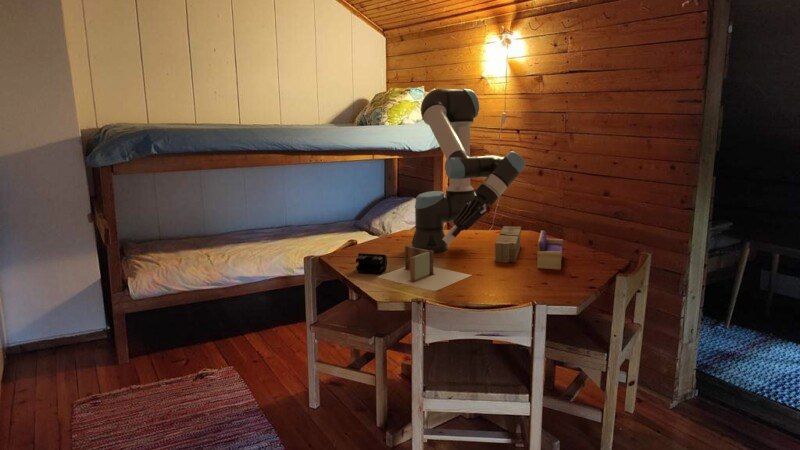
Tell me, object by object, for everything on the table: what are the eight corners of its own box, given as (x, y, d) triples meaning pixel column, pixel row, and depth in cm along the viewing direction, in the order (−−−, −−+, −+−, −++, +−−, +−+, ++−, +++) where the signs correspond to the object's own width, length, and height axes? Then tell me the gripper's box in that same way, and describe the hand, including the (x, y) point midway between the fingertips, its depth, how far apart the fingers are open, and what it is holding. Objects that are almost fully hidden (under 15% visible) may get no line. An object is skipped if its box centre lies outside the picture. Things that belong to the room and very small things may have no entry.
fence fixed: (404, 269, 205) (403, 246, 203) (407, 268, 207) (407, 245, 205) (431, 275, 198) (431, 252, 196) (434, 274, 199) (434, 251, 197)
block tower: (515, 265, 214) (521, 244, 241) (516, 244, 212) (522, 225, 239) (494, 264, 216) (502, 243, 243) (494, 243, 214) (503, 224, 241)
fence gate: (426, 273, 198) (426, 251, 197) (430, 274, 197) (430, 252, 196) (409, 280, 191) (409, 257, 189) (413, 281, 190) (413, 258, 188)
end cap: (387, 270, 206) (387, 252, 204) (382, 276, 199) (381, 257, 198) (361, 269, 208) (360, 251, 207) (355, 274, 201) (354, 256, 200)
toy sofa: (561, 270, 204) (562, 243, 201) (536, 268, 206) (537, 241, 204) (562, 255, 223) (564, 230, 221) (540, 254, 226) (541, 229, 224)
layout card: (376, 278, 197) (376, 276, 197) (415, 264, 213) (415, 262, 213) (434, 292, 181) (434, 291, 181) (471, 276, 198) (471, 274, 197)
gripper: (506, 200, 190) (460, 253, 189) (488, 194, 202) (445, 244, 201) (492, 186, 187) (446, 239, 186) (474, 180, 199) (431, 231, 198)
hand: (445, 242), depth 193 cm, fingers closed
